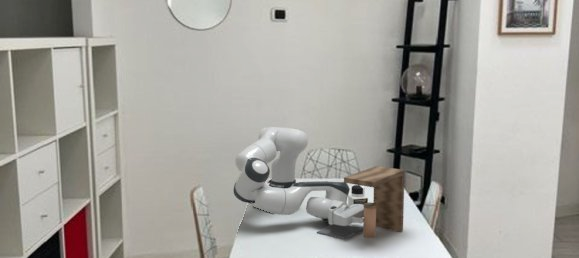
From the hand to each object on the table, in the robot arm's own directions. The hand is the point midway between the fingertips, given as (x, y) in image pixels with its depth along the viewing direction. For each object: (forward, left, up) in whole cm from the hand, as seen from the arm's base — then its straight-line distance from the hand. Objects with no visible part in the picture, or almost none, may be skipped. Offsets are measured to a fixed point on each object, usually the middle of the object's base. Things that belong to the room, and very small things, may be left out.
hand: (369, 217), depth 231 cm
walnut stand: (+2, +1, -8) cm, 8 cm away
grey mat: (-13, -2, -8) cm, 15 cm away
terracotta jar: (0, 0, -8) cm, 8 cm away
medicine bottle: (-22, +28, -8) cm, 36 cm away
